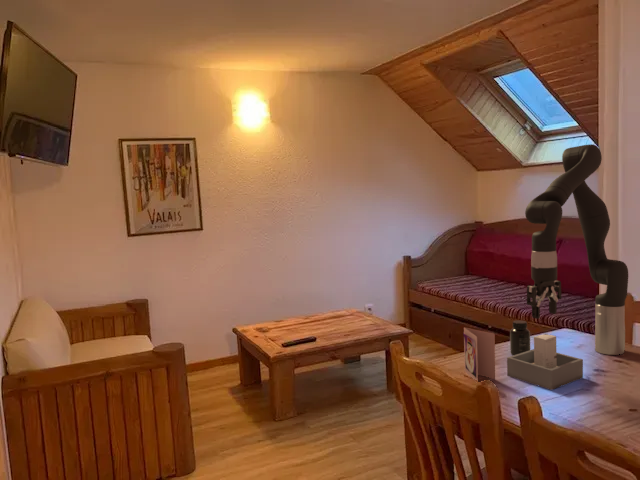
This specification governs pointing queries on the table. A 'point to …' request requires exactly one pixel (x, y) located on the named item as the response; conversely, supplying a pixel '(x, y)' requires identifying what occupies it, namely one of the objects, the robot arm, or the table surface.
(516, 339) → the supplement bottle
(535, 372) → the crate
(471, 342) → the greeting card
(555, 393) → the table surface
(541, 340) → the skincare box
